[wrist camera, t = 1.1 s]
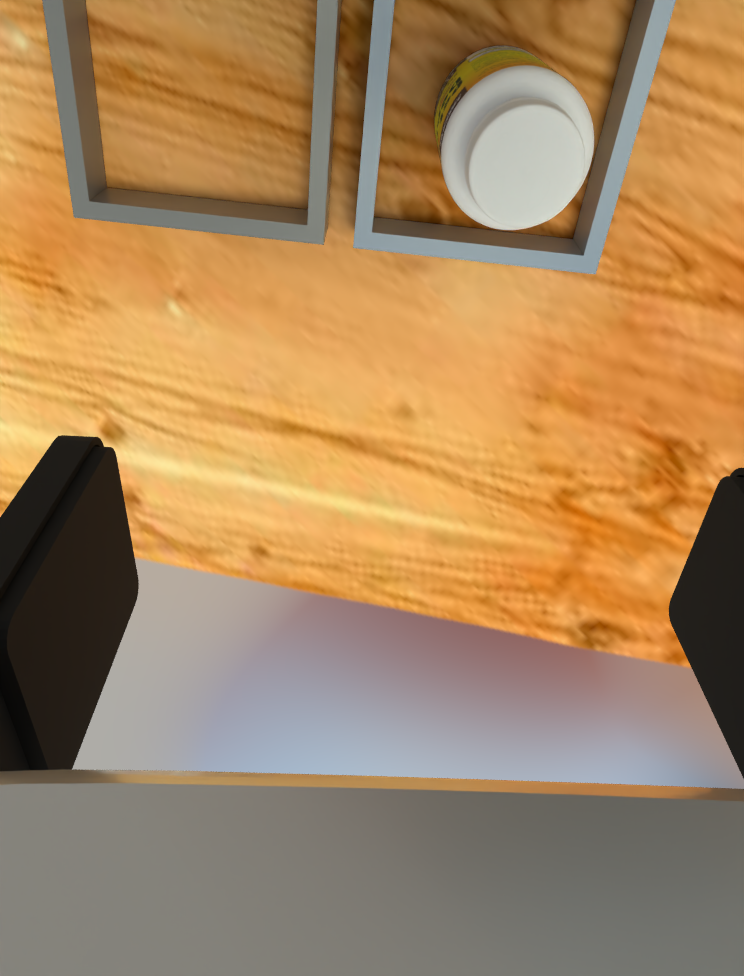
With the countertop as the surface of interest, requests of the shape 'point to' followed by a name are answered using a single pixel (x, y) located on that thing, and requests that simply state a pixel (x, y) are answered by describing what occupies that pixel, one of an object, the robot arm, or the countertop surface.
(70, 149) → the grey open square frame
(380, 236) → the blue-grey square frame
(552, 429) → the countertop surface
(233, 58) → the countertop surface
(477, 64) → the supplement bottle
